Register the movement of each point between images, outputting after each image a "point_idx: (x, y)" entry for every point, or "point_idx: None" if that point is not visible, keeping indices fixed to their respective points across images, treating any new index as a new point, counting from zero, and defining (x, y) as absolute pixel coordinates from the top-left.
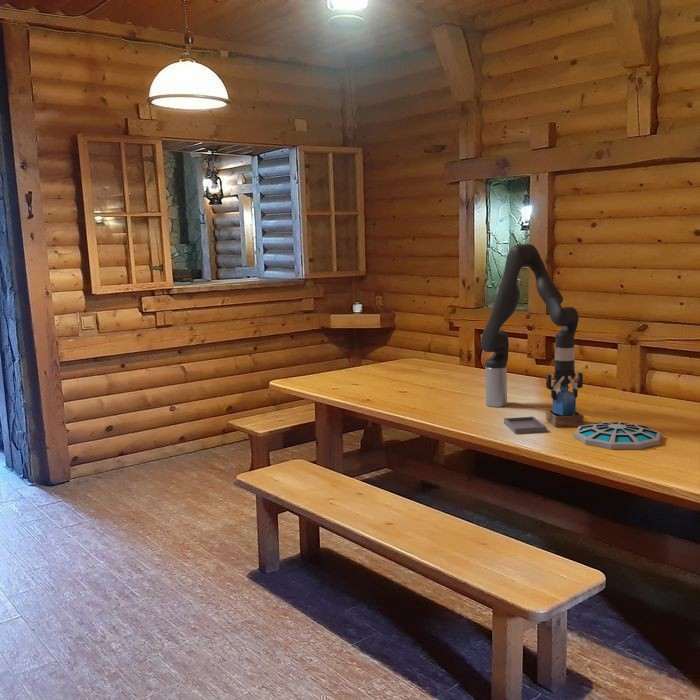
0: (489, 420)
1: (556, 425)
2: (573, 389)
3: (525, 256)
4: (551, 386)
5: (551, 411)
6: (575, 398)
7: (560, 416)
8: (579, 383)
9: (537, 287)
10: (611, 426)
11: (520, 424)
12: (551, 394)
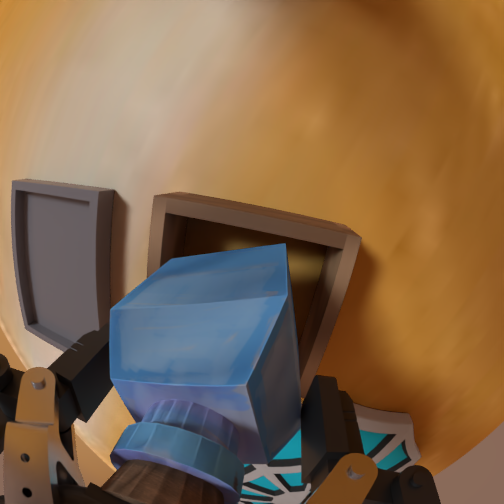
0: (13, 126)
1: None
2: (313, 467)
3: None
4: (19, 401)
5: (184, 215)
6: (298, 426)
7: None
8: None
9: None
10: (280, 500)
11: (47, 252)
12: (71, 354)
